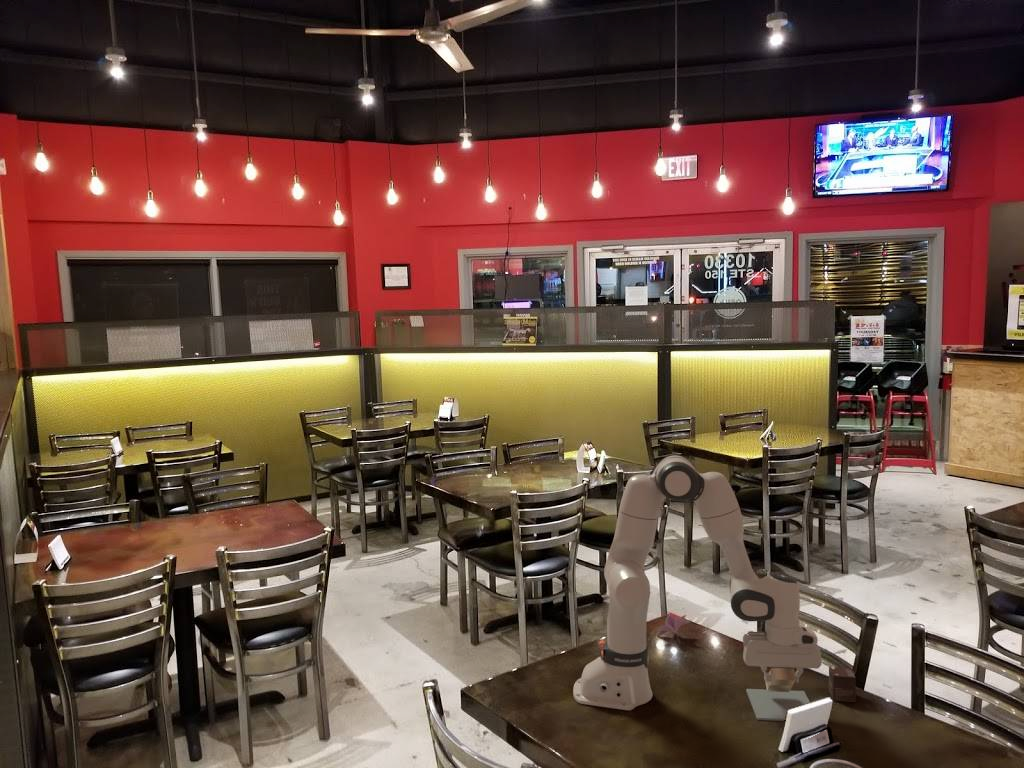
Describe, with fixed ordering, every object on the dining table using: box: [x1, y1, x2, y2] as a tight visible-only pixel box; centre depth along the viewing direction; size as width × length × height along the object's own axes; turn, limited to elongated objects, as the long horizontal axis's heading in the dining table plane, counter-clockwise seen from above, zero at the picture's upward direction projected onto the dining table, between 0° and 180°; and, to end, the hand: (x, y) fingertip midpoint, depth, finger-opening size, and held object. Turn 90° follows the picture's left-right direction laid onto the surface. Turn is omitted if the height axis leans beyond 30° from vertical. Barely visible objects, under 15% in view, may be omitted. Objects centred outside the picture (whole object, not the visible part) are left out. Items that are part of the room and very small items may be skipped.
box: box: [828, 666, 857, 703], centre depth 211 cm, size 6×6×7 cm
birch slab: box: [764, 667, 796, 692], centre depth 207 cm, size 6×3×10 cm
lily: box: [656, 614, 690, 644], centre depth 250 cm, size 12×12×10 cm
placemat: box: [745, 688, 811, 722], centre depth 207 cm, size 16×16×1 cm
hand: (781, 681), depth 206 cm, fingers closed on birch slab, 6 cm apart
